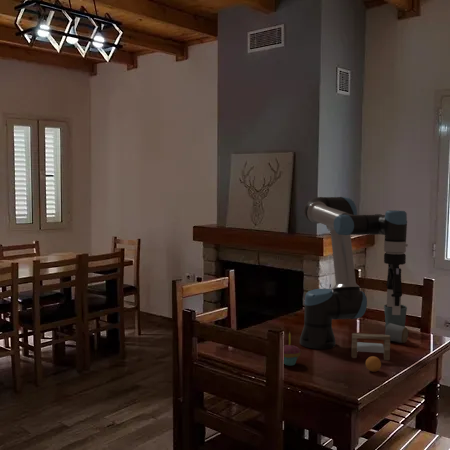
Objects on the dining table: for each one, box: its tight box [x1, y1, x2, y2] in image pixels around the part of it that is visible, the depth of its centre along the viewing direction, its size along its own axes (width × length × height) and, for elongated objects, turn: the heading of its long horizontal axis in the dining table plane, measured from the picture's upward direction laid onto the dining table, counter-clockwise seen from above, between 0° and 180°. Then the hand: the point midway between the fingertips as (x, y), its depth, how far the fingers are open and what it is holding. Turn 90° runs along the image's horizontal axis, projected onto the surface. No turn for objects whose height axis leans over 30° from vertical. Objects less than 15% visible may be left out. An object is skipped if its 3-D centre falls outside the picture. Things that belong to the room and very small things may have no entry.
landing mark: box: [357, 341, 384, 354], centre depth 229 cm, size 13×13×1 cm
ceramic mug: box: [384, 323, 409, 344], centre depth 239 cm, size 11×8×8 cm
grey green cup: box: [383, 304, 408, 329], centre depth 255 cm, size 10×10×12 cm
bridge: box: [350, 332, 391, 361], centre depth 215 cm, size 3×14×9 cm, turn 79°
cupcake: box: [283, 330, 302, 367], centre depth 207 cm, size 9×8×12 cm
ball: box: [365, 355, 382, 373], centre depth 199 cm, size 6×6×6 cm
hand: (393, 310), depth 199 cm, fingers open, 13 cm apart
